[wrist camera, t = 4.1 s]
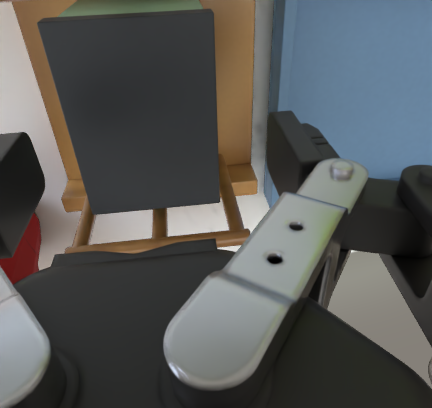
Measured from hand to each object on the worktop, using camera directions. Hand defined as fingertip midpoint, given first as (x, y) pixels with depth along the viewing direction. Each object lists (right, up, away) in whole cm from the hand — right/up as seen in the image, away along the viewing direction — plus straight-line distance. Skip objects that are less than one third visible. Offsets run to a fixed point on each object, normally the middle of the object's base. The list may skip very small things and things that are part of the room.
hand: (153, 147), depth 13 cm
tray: (+13, +5, +9) cm, 17 cm away
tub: (-1, +4, +6) cm, 8 cm away
